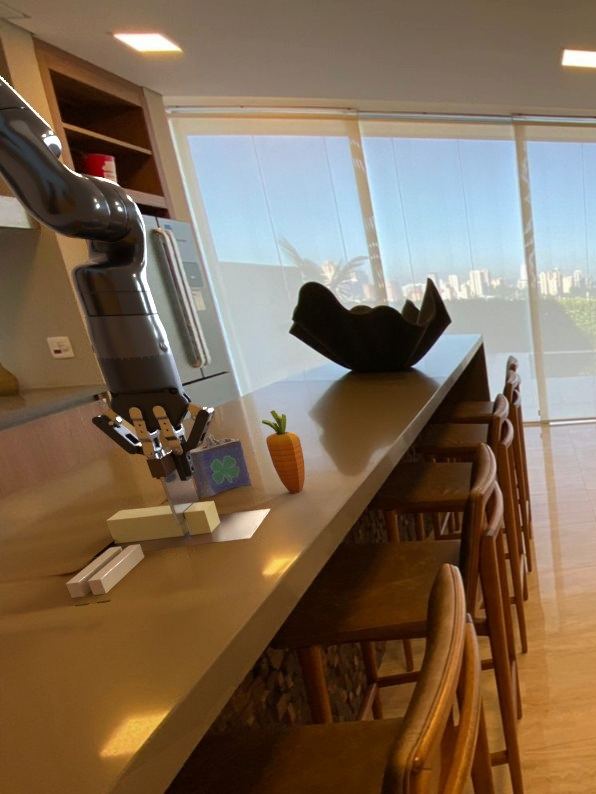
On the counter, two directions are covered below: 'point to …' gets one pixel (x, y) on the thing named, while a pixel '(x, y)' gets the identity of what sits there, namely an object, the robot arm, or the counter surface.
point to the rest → (105, 572)
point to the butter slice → (202, 517)
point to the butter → (145, 525)
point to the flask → (219, 466)
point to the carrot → (286, 454)
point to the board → (227, 530)
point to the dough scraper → (173, 483)
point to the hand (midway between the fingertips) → (177, 479)
